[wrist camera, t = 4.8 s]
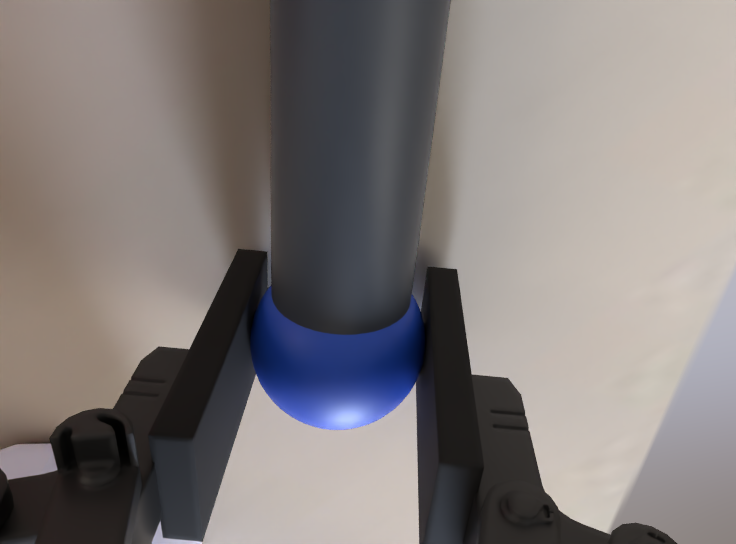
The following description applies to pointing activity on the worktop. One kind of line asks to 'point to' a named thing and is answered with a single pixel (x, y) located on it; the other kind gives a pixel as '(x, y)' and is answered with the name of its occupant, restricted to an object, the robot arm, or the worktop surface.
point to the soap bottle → (40, 461)
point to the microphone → (347, 204)
